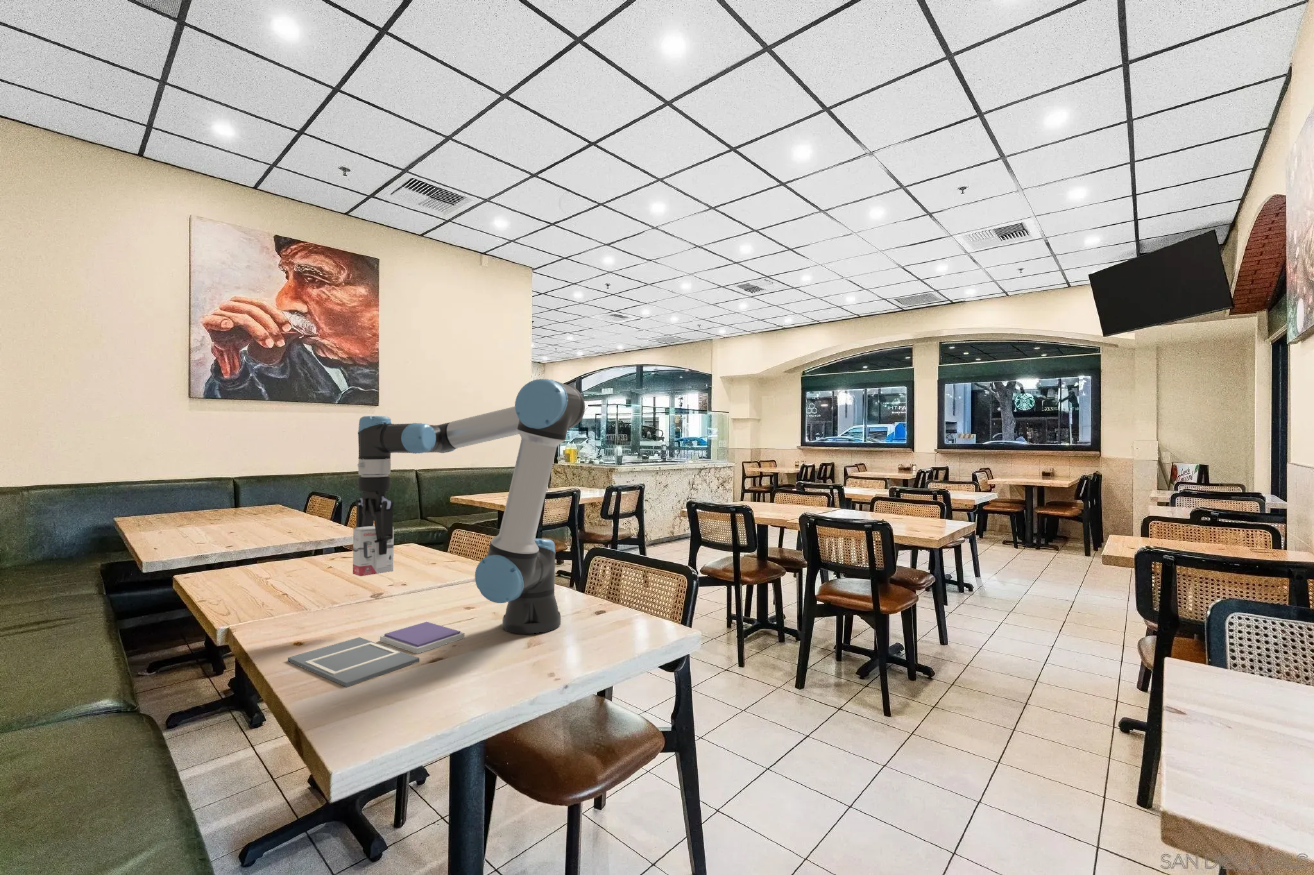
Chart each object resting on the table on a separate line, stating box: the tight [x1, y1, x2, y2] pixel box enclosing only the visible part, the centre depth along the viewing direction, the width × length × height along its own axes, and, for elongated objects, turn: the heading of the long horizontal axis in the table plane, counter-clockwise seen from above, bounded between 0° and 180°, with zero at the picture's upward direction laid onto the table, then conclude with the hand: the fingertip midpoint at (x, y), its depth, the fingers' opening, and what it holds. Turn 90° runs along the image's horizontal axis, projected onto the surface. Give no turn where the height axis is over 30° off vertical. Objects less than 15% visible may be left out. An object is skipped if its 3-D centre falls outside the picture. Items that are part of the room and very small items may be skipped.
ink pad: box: [379, 621, 466, 655], centre depth 139 cm, size 15×13×2 cm
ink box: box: [352, 525, 395, 577], centre depth 146 cm, size 9×5×12 cm, turn 138°
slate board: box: [287, 636, 420, 688], centre depth 125 cm, size 24×16×1 cm, turn 57°
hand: (373, 565), depth 146 cm, fingers closed on ink box, 5 cm apart
